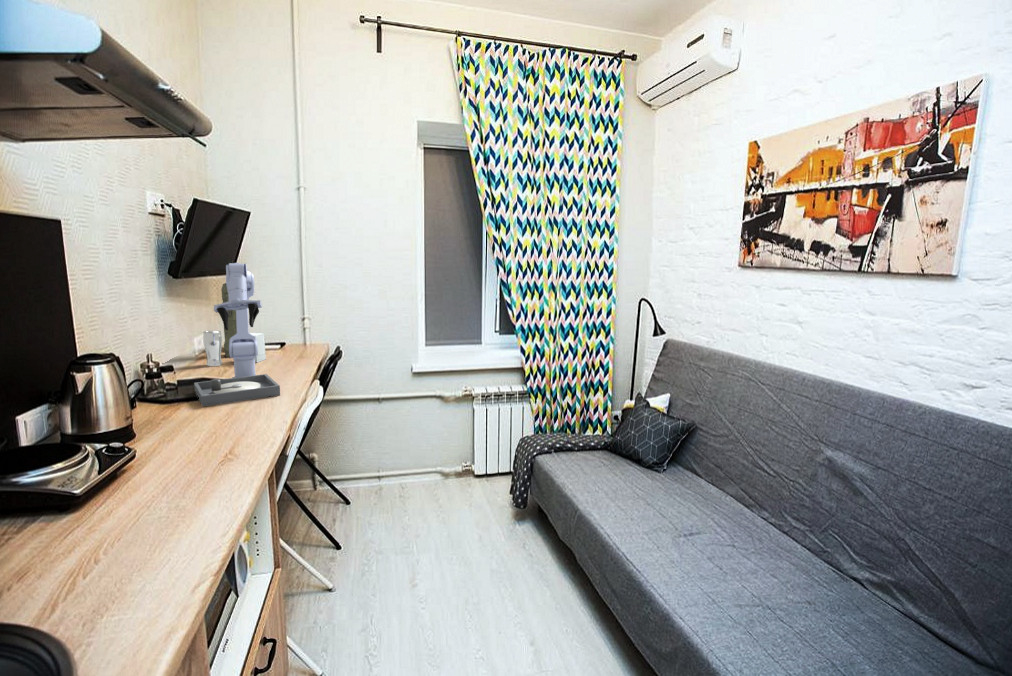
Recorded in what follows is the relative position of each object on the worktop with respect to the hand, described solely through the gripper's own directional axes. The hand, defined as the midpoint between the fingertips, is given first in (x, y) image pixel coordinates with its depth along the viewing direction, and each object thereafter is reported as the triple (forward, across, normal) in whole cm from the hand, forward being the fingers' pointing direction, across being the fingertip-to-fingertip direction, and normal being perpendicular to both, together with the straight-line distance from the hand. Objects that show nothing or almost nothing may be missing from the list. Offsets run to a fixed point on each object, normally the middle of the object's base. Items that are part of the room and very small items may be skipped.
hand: (238, 327), depth 164 cm
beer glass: (-15, -25, +60) cm, 66 cm away
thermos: (-26, -21, +76) cm, 83 cm away
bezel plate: (+16, -6, +21) cm, 27 cm away
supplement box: (-17, -10, +65) cm, 68 cm away
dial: (+15, -6, +20) cm, 26 cm away
